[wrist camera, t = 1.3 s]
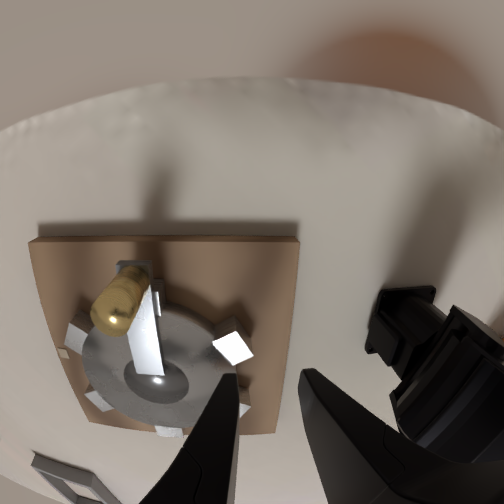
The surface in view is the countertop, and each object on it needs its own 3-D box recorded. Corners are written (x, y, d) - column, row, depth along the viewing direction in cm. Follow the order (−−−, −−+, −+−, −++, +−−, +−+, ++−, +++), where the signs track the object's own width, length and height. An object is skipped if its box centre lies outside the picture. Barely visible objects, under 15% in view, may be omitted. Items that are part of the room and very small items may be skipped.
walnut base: (294, 236, 20) (300, 242, 18) (273, 422, 26) (275, 433, 24) (38, 237, 18) (27, 242, 16) (92, 412, 24) (88, 422, 22)
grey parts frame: (93, 473, 29) (90, 487, 26) (127, 510, 35) (126, 520, 33) (35, 454, 28) (30, 465, 25) (76, 496, 34) (74, 505, 31)
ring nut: (254, 249, 18) (272, 301, 12) (247, 421, 23) (254, 480, 17) (55, 249, 17) (-1, 288, 10) (105, 412, 22) (88, 464, 15)
